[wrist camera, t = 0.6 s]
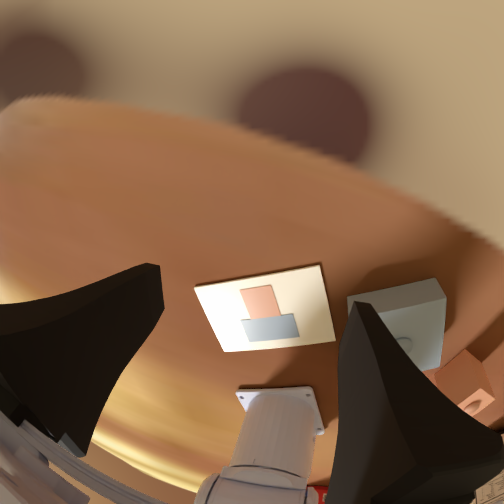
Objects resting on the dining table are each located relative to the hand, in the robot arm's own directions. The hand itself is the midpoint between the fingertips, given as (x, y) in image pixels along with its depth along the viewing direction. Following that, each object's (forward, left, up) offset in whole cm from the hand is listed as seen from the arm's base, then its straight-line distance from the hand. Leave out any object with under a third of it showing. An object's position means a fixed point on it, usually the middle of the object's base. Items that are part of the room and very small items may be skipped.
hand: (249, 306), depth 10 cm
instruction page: (-7, +3, -10) cm, 13 cm away
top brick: (-18, -14, -10) cm, 25 cm away
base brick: (-10, -7, -10) cm, 16 cm away
